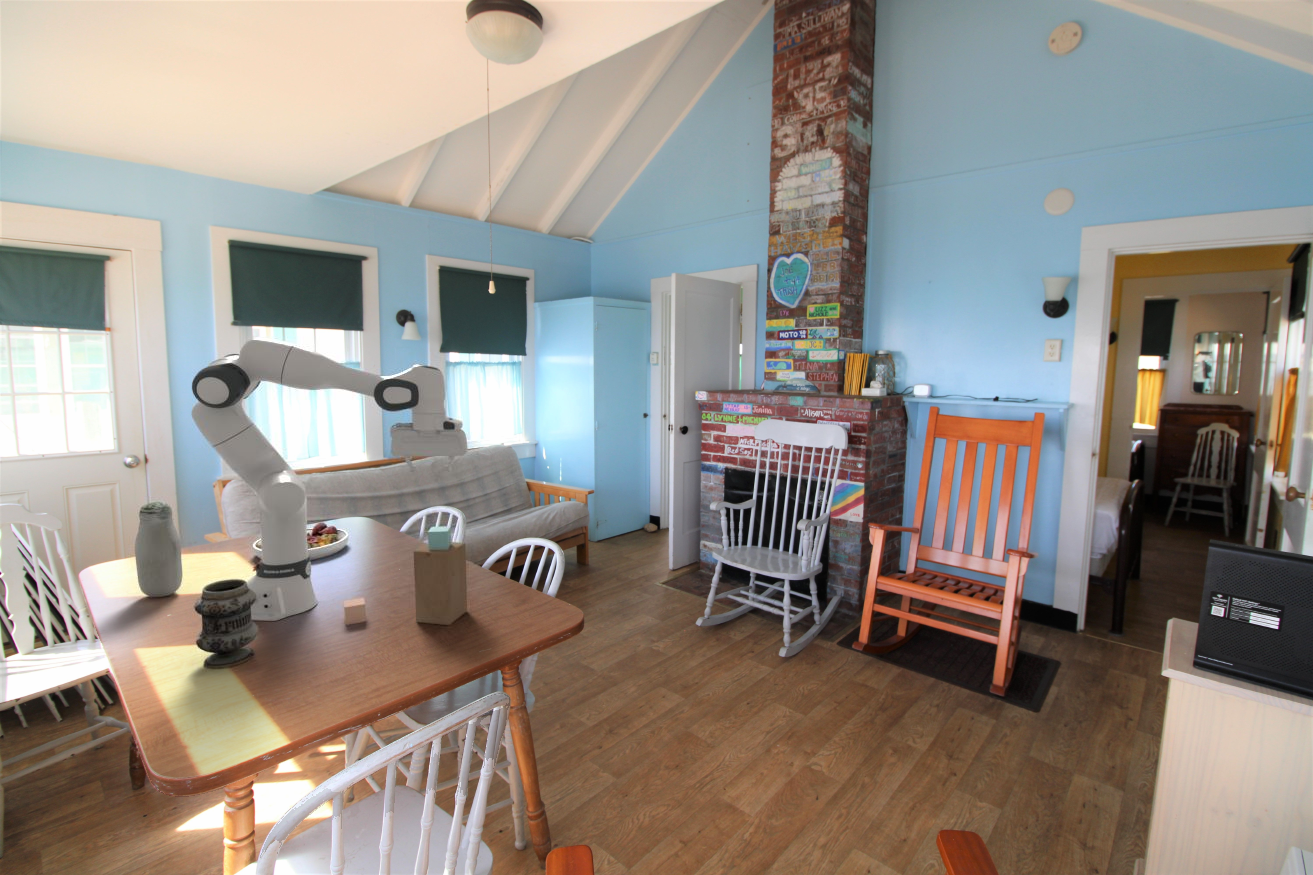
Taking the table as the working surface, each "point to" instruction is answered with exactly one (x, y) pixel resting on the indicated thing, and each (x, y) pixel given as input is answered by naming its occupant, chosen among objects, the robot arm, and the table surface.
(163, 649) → the table surface
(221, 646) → the apothecary jar
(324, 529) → the bowl
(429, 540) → the teal cube
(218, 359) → the robot arm
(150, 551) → the grey rounded bottle
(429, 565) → the wooden block
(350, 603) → the clay block
